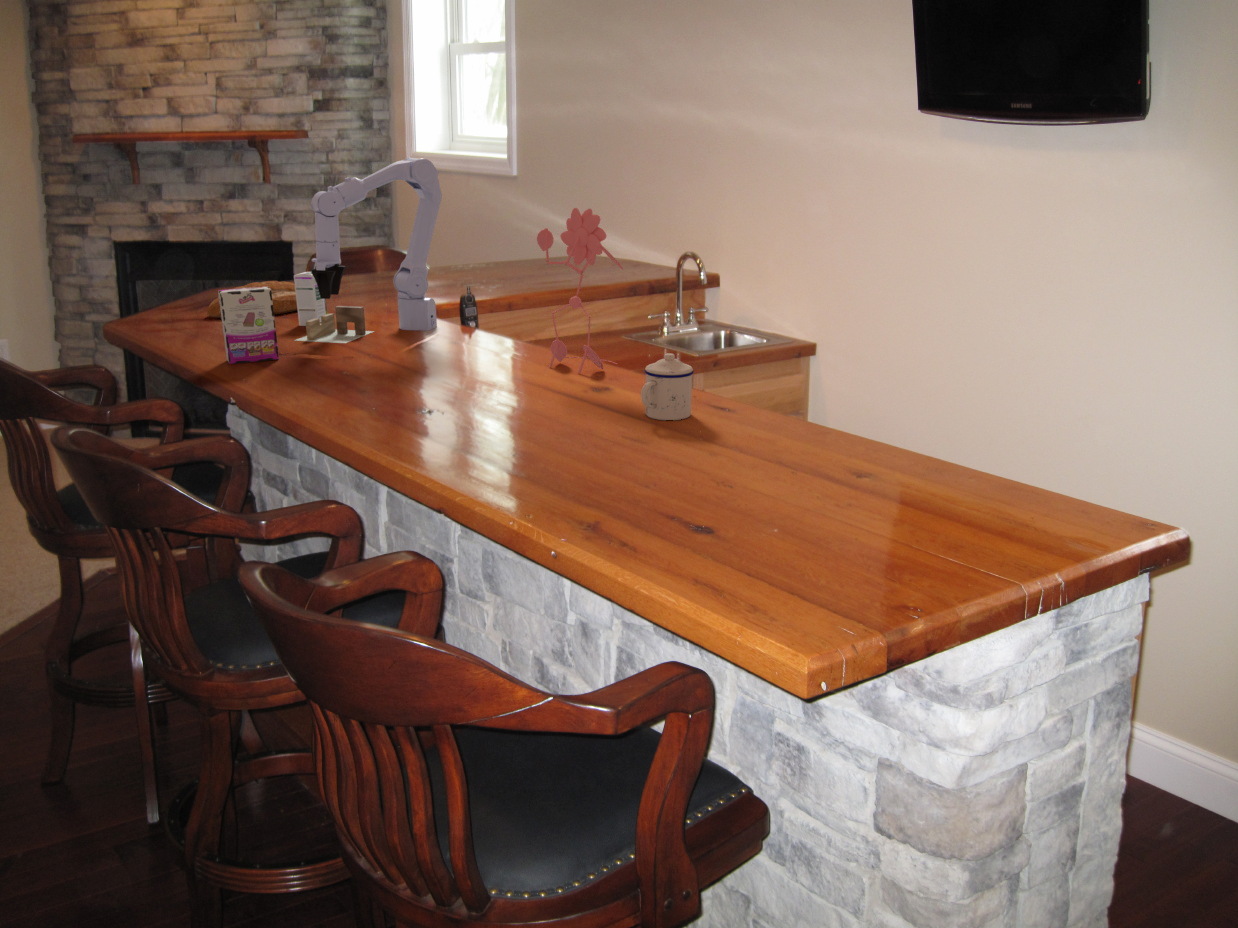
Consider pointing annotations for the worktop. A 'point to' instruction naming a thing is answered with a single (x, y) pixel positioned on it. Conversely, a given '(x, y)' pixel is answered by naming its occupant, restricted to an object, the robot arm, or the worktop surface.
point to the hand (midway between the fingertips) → (329, 296)
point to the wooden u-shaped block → (320, 326)
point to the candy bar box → (248, 324)
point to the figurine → (581, 245)
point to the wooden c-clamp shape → (350, 319)
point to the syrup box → (308, 298)
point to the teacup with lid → (668, 389)
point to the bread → (280, 297)
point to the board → (336, 337)
